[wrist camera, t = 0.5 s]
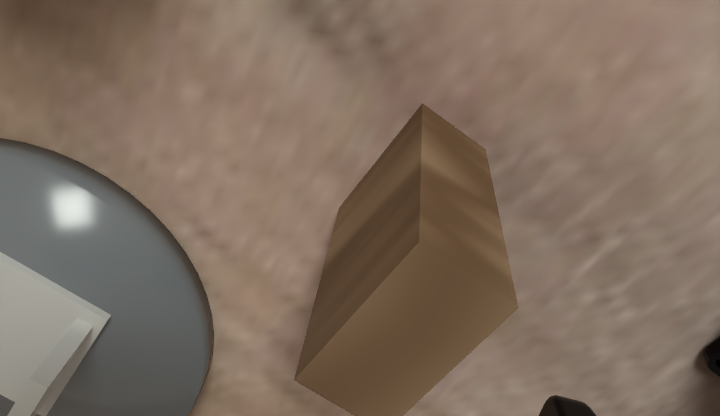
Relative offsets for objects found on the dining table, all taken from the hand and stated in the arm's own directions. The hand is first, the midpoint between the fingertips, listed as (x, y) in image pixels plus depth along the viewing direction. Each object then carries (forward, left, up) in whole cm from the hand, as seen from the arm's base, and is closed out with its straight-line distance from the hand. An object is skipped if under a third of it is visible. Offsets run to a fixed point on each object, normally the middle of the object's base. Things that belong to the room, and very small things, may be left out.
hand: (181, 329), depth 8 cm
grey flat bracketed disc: (+4, +15, -12) cm, 19 cm away
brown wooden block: (-4, +2, -12) cm, 13 cm away
